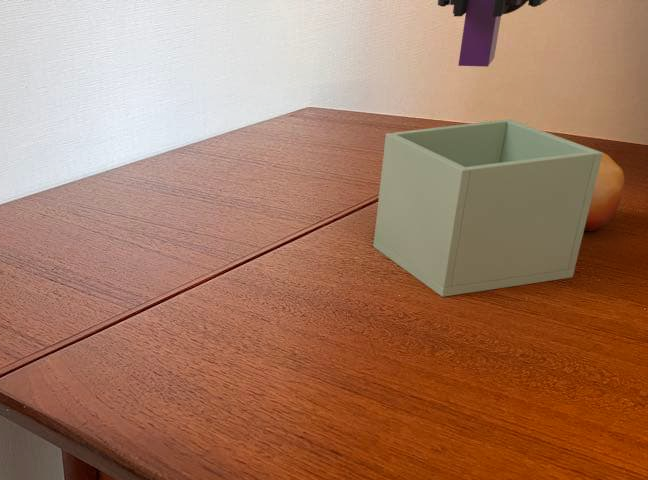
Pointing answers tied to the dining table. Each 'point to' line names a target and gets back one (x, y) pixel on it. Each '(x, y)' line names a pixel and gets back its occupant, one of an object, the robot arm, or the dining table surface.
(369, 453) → the dining table surface
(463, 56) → the purple rectangular block
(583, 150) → the bin
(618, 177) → the fruit
